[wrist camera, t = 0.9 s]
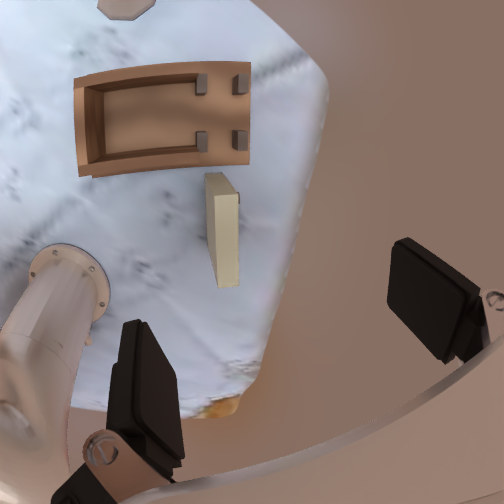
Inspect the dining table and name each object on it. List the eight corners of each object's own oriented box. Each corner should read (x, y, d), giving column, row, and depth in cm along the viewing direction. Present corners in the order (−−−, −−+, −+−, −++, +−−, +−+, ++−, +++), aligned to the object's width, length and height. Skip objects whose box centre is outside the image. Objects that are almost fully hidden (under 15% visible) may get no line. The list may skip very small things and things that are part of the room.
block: (229, 242, 37) (246, 285, 28) (207, 244, 36) (218, 288, 27) (228, 172, 33) (247, 193, 24) (204, 173, 32) (214, 195, 23)
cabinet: (247, 163, 33) (266, 176, 26) (94, 176, 29) (71, 194, 22) (248, 63, 27) (269, 49, 20) (89, 75, 23) (64, 65, 17)
